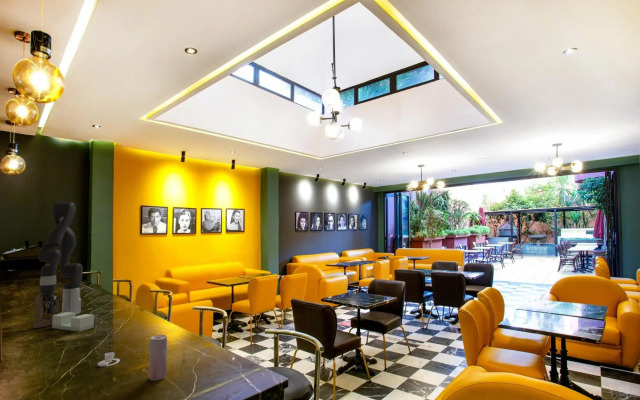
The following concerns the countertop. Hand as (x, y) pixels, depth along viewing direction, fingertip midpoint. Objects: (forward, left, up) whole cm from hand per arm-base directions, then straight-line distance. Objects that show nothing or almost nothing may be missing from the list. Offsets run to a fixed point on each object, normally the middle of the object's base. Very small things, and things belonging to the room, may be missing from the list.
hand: (46, 313), depth 194 cm
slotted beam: (-3, +18, -7) cm, 20 cm away
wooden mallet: (0, 0, -8) cm, 8 cm away
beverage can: (+32, +114, -8) cm, 119 cm away
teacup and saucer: (+29, +81, -8) cm, 86 cm away
